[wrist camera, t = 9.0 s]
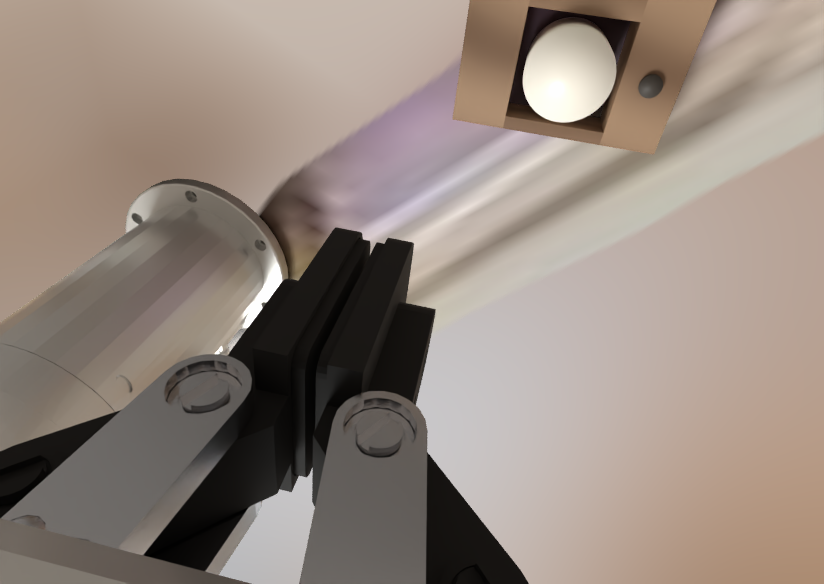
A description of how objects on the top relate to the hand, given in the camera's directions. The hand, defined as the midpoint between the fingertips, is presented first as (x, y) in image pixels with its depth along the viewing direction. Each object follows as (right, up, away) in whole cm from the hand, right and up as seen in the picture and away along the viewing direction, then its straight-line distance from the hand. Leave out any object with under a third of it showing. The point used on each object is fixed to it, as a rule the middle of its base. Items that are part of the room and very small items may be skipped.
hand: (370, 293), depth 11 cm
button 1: (+9, +12, +14) cm, 20 cm away
